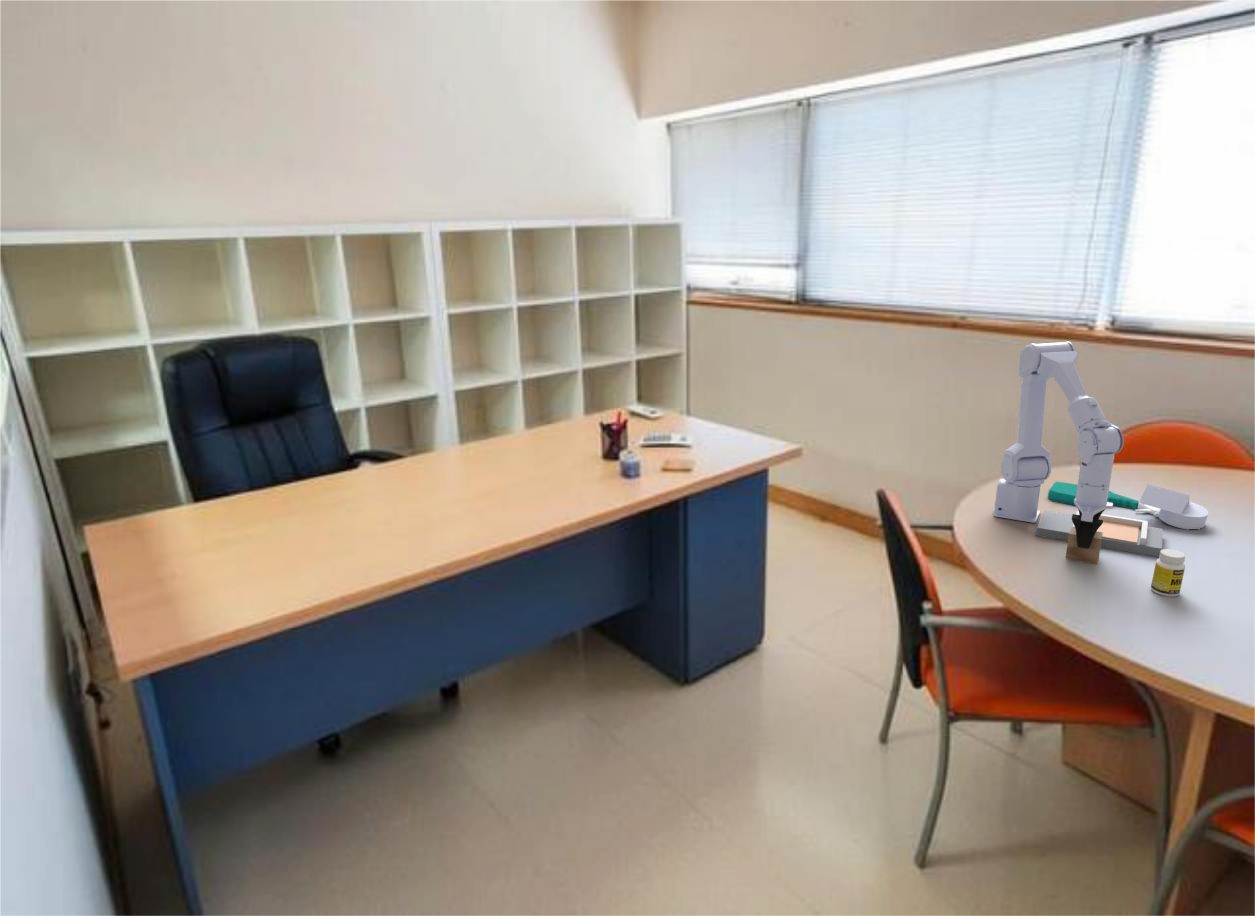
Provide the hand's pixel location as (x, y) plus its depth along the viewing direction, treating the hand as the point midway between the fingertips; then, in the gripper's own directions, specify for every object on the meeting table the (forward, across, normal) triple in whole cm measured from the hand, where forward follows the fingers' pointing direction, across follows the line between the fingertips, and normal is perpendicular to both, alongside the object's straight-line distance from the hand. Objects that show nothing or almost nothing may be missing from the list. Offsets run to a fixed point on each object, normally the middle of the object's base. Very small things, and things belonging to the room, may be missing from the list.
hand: (1084, 540), depth 162 cm
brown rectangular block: (+4, 0, 0) cm, 4 cm away
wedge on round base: (+3, +32, -16) cm, 36 cm away
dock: (+4, +14, -2) cm, 15 cm away
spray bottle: (+5, +37, -2) cm, 37 cm away
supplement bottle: (+4, -9, -15) cm, 18 cm away
